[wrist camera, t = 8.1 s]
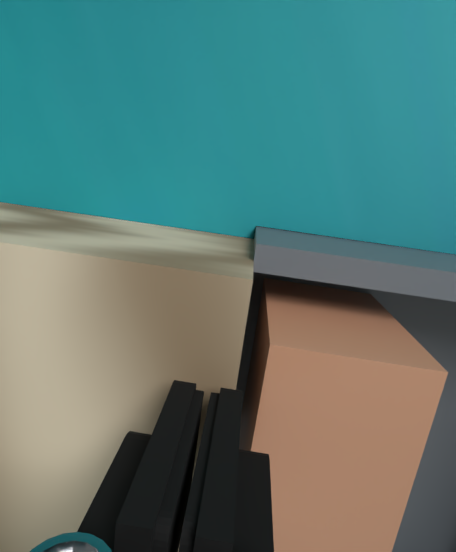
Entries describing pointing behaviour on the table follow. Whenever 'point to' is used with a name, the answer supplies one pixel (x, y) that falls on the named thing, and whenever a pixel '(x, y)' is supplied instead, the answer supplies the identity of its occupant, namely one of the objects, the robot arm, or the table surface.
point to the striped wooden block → (102, 349)
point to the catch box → (412, 316)
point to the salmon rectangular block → (337, 415)
